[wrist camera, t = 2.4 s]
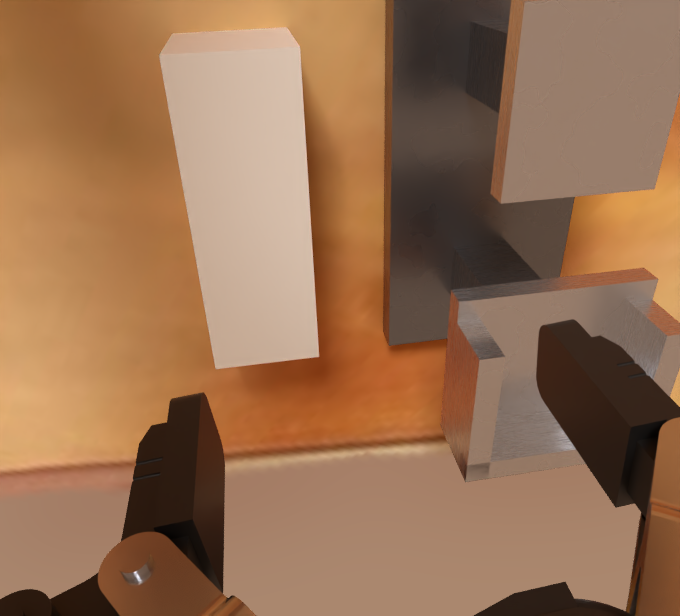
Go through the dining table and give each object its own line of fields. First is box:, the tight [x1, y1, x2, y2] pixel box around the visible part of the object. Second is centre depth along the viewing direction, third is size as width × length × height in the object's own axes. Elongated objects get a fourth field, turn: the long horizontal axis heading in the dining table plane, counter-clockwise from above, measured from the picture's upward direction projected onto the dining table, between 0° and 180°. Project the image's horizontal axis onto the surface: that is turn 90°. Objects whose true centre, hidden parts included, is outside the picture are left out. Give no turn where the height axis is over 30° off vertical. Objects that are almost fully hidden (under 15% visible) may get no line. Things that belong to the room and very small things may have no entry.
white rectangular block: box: [159, 27, 319, 369], centre depth 27 cm, size 5×14×6 cm, turn 2°
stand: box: [383, 0, 680, 482], centre depth 26 cm, size 10×20×12 cm, turn 2°
